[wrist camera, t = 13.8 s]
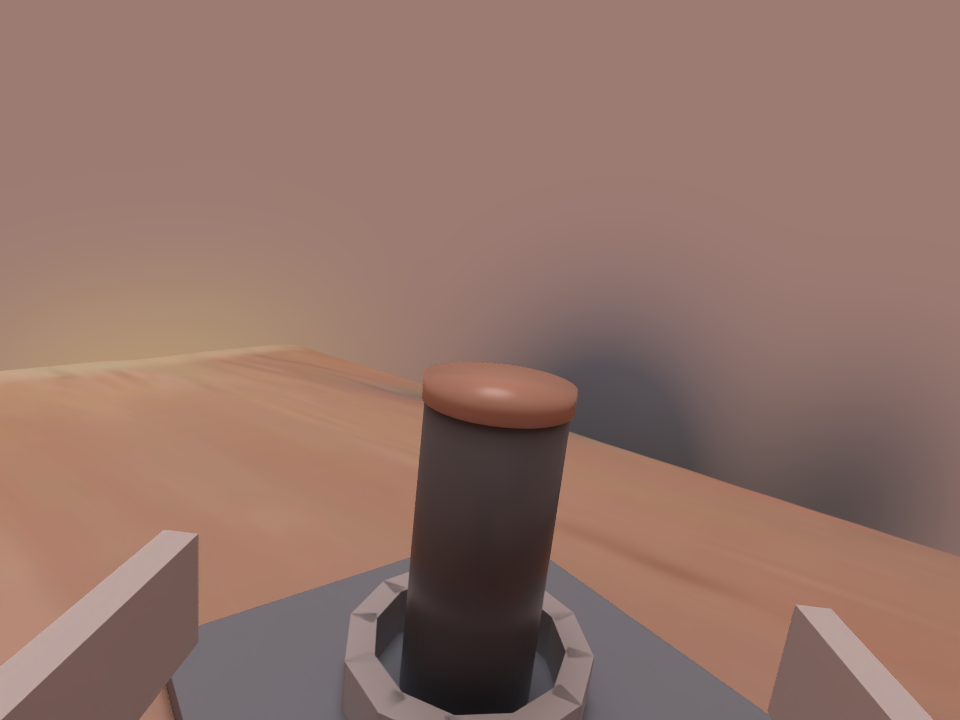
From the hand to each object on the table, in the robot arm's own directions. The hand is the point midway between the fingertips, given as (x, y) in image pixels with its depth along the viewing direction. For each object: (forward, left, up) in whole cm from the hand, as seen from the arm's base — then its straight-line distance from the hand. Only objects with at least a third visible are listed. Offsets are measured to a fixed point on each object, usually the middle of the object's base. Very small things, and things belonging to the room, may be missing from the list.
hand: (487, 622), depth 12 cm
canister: (-5, -6, -8) cm, 11 cm away
